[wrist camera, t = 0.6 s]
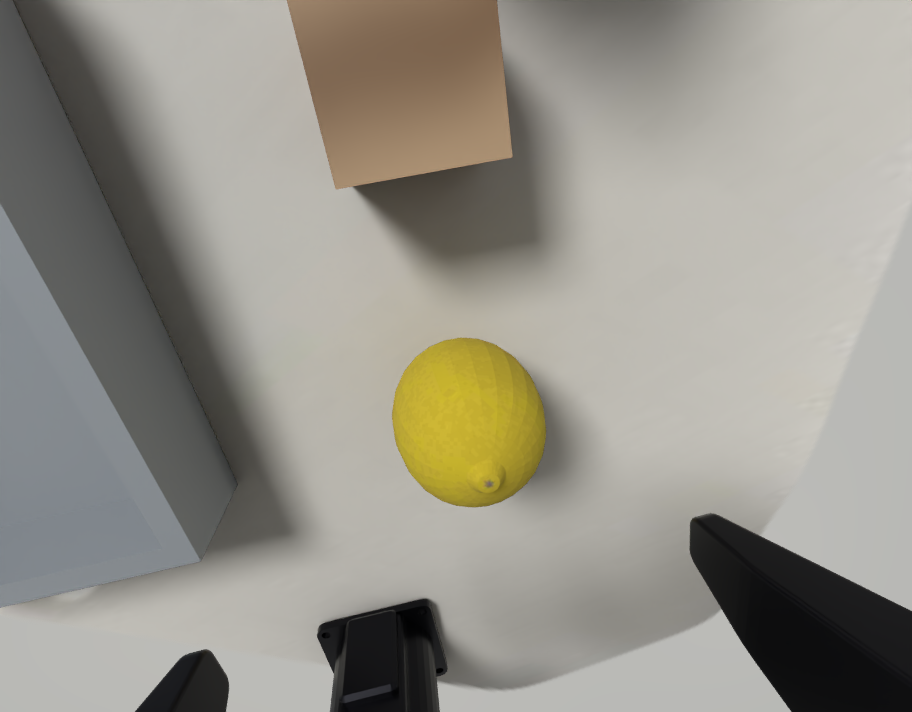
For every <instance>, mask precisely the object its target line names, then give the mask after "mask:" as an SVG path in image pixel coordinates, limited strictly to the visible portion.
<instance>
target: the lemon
mask: <svg viewBox="0 0 912 712" xmlns="http://www.w3.org/2000/svg"><path fill="white" fill-rule="evenodd" d="M392 420H393V428H394V434H395V440H396V444H397V447H398V450H399V452H400V454H401V456H402V458H403V460H404V462H405V464H406V467H407V469H408V470H409V472H410V474H411V475H412V476H413V477H414V478H415V479H416V481H417V482H418V483H419V484H420V485H421V486H422V487H423V488H424V489H425V490H426V491H427V492H429V493H430V494H432V495H433V496H435V497H437V498H438V499H440V500H442V501H444V502H447V503H450V504H453V505H456V506H465V507H482V506H489V505H492V504H495V503H499V502H501V501H503V500H505V499H507V498H509V497H511V496H512V495H514V494H515V493H516V492H517V491H519V490H520V489H521V488H522V487H523V486H525V485H526V484H527V482H528V481H529V480H530V478H531V477H532V476H533V474H534V473H535V471H536V469H537V467H538V465H539V462H540V460H541V458H542V456H543V451H544V445H545V439H546V425H545V417H544V410H543V405H542V401H541V398H540V396H539V393H538V391H537V389H536V387H535V385H534V382H533V380H532V379H531V377H530V375H529V374H528V372H527V371H526V370H525V369H524V368H523V367H522V365H521V364H520V363H519V362H518V361H517V360H516V359H515V358H514V357H513V356H512V355H510V354H509V353H507V352H506V351H504V350H503V349H501V348H500V347H498V346H497V345H495V344H492V343H489V342H486V341H483V340H479V339H472V338H456V339H451V340H445V341H442V342H440V343H438V344H435V345H433V346H431V347H429V348H427V349H426V350H425V351H423V352H422V353H421V354H419V355H418V356H417V357H416V358H415V359H414V360H413V361H412V363H411V364H410V365H409V366H408V367H407V369H406V370H405V371H404V373H403V375H402V378H401V380H400V382H399V384H398V387H397V389H396V392H395V398H394V405H393V411H392Z"/></svg>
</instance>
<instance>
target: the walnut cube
mask: <svg viewBox="0 0 912 712" xmlns="http://www.w3.org/2000/svg"><path fill="white" fill-rule="evenodd" d="M287 3H288V7H289V11H290V14H291V18H292V22H293V26H294V30H295V34H296V38H297V41H298V45H299V49H300V53H301V57H302V61H303V65H304V69H305V72H306V76H307V80H308V84H309V88H310V92H311V96H312V99H313V103H314V107H315V111H316V115H317V119H318V123H319V126H320V130H321V134H322V138H323V142H324V146H325V150H326V153H327V157H328V161H329V165H330V169H331V173H332V177H333V181H334V184H335V188H336V189H341V188H347V187H352V186H358V185H363V184H369V183H374V182H380V181H385V180H391V179H396V178H402V177H407V176H413V175H418V174H424V173H429V172H435V171H440V170H446V169H451V168H457V167H462V166H468V165H473V164H479V163H485V162H490V161H496V160H501V159H507V158H512V157H513V156H512V146H511V136H510V126H509V116H508V106H507V97H506V87H505V77H504V67H503V57H502V47H501V37H500V27H499V17H498V7H497V0H287Z"/></svg>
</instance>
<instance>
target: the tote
mask: <svg viewBox="0 0 912 712" xmlns="http://www.w3.org/2000/svg"><path fill="white" fill-rule="evenodd" d="M237 485H238V484H237V481H236V479H235V477H234V475H233V473H232V471H231V469H230V466H229V464H228V462H227V460H226V458H225V456H224V453H223V451H222V449H221V447H220V445H219V443H218V441H217V438H216V436H215V434H214V432H213V430H212V428H211V426H210V423H209V421H208V419H207V417H206V415H205V413H204V411H203V408H202V406H201V404H200V402H199V400H198V398H197V395H196V393H195V391H194V389H193V387H192V385H191V383H190V380H189V378H188V376H187V374H186V372H185V370H184V368H183V365H182V363H181V361H180V359H179V357H178V355H177V352H176V350H175V348H174V346H173V344H172V342H171V340H170V337H169V335H168V333H167V331H166V329H165V327H164V325H163V322H162V320H161V318H160V316H159V314H158V312H157V310H156V307H155V305H154V303H153V301H152V299H151V297H150V294H149V292H148V290H147V288H146V286H145V284H144V282H143V279H142V277H141V275H140V273H139V271H138V269H137V267H136V264H135V262H134V260H133V258H132V256H131V254H130V251H129V249H128V247H127V245H126V243H125V241H124V239H123V236H122V234H121V232H120V230H119V228H118V226H117V224H116V221H115V219H114V217H113V215H112V213H111V211H110V209H109V206H108V204H107V202H106V200H105V198H104V196H103V193H102V191H101V189H100V187H99V185H98V183H97V181H96V178H95V176H94V174H93V172H92V170H91V168H90V166H89V163H88V161H87V159H86V157H85V155H84V153H83V151H82V148H81V146H80V144H79V142H78V140H77V138H76V135H75V133H74V131H73V129H72V127H71V125H70V123H69V120H68V118H67V116H66V114H65V112H64V110H63V108H62V105H61V103H60V101H59V99H58V97H57V95H56V92H55V90H54V88H53V86H52V84H51V82H50V80H49V77H48V75H47V73H46V71H45V69H44V67H43V65H42V62H41V60H40V58H39V56H38V54H37V52H36V50H35V47H34V45H33V43H32V41H31V39H30V37H29V34H28V32H27V30H26V28H25V26H24V24H23V22H22V19H21V17H20V15H19V13H18V11H17V9H16V7H15V4H14V2H13V0H0V608H1V607H5V606H9V605H14V604H18V603H22V602H27V601H31V600H35V599H40V598H44V597H48V596H53V595H57V594H61V593H66V592H70V591H74V590H79V589H83V588H88V587H92V586H96V585H101V584H105V583H109V582H114V581H118V580H122V579H127V578H131V577H135V576H140V575H144V574H148V573H153V572H157V571H161V570H166V569H170V568H174V567H179V566H183V565H187V564H192V563H196V562H200V561H201V560H202V558H203V556H204V554H205V552H206V550H207V547H208V545H209V543H210V541H211V539H212V537H213V535H214V533H215V531H216V529H217V527H218V525H219V522H220V520H221V518H222V516H223V514H224V512H225V510H226V508H227V506H228V504H229V502H230V499H231V497H232V495H233V493H234V491H235V489H236V487H237Z"/></svg>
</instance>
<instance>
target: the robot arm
mask: <svg viewBox="0 0 912 712" xmlns="http://www.w3.org/2000/svg"><path fill="white" fill-rule="evenodd" d="M690 554H691V557H692V560H693V562H694V564H695V565H696V567H697V569H698V570H699V572H700V574H701V575H702V577H703V579H704V580H705V582H706V584H707V585H708V587H709V589H710V590H711V592H712V594H713V595H714V597H715V599H716V600H717V602H718V604H719V605H720V607H721V609H722V610H723V612H724V614H725V615H726V617H727V619H728V620H729V622H730V624H731V625H732V627H733V629H734V630H735V632H736V634H737V635H738V637H739V639H740V640H741V642H742V643H743V645H744V646H745V648H746V649H747V651H748V652H749V653H750V655H751V656H752V658H753V659H754V661H755V662H756V663H757V665H758V666H759V667H760V669H761V670H762V672H763V673H764V675H765V676H766V677H767V679H768V680H769V681H770V683H771V684H772V686H773V687H774V688H775V690H776V691H777V692H778V694H779V695H780V697H781V698H782V699H783V701H784V702H785V703H786V705H787V706H788V708H789V709H790V710H791V712H912V611H910V610H908V609H906V608H904V607H902V606H900V605H898V604H896V603H894V602H892V601H890V600H888V599H886V598H884V597H882V596H880V595H878V594H876V593H874V592H872V591H870V590H868V589H866V588H864V587H862V586H860V585H858V584H856V583H854V582H852V581H850V580H848V579H846V578H844V577H842V576H840V575H838V574H836V573H834V572H832V571H830V570H827V569H825V568H824V567H821V566H820V565H818V564H816V563H814V562H812V561H810V560H807V559H806V558H803V557H801V556H799V555H797V554H795V553H793V552H791V551H789V550H787V549H785V548H783V547H781V546H779V545H777V544H775V543H773V542H771V541H769V540H767V539H765V538H763V537H761V536H759V535H757V534H755V533H753V532H751V531H749V530H747V529H745V528H743V527H741V526H739V525H737V524H735V523H733V522H731V521H729V520H727V519H725V518H723V517H721V516H719V515H716V514H712V513H710V514H705V515H701V516H698V517H694V518H692V520H691V522H690ZM317 638H318V640H319V642H320V644H321V647H322V649H323V651H324V653H325V655H326V658H327V660H328V662H329V664H330V666H331V669H332V671H333V673H334V680H333V689H332V698H331V708H330V712H440V710H439V699H438V689H437V678H436V677H437V676H441V675H443V674H445V673H446V672H447V662H446V658H445V655H444V651H443V648H442V644H441V640H440V637H439V633H438V629H437V626H436V622H435V619H434V615H433V611H432V608H431V604H430V602H429V601H428V600H424V599H423V600H417V601H413V602H409V603H405V604H401V605H397V606H392V607H388V608H384V609H380V610H376V611H372V612H368V613H364V614H360V615H355V616H351V617H347V618H343V619H339V620H335V621H331V622H327V623H323V624H321V625H320V626H319V628H318V633H317ZM228 693H229V682H228V678H227V675H226V673H225V672H224V671H223V669H222V667H221V666H220V664H219V662H218V661H217V659H216V658H215V656H214V655H213V653H212V652H211V651H210V650H207V649H205V650H201V651H197V652H193V653H189V654H187V655H185V656H183V657H182V658H180V659H179V661H178V662H177V663H176V664H175V665H174V666H173V667H172V669H171V670H170V671H169V672H168V673H167V674H166V676H165V677H164V678H163V679H162V680H161V682H160V683H159V684H158V685H157V686H156V687H155V689H154V690H153V691H152V692H151V693H150V695H149V696H148V697H147V698H146V699H145V700H144V702H143V703H142V704H141V705H140V706H139V708H138V709H137V710H136V711H135V712H226V707H227V700H228Z"/></svg>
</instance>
